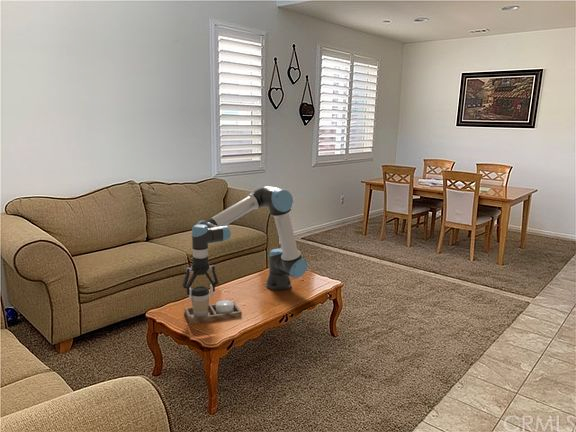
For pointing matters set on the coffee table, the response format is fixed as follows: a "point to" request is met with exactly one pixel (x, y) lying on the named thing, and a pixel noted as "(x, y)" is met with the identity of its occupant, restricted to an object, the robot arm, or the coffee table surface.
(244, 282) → the coffee table surface
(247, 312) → the coffee table surface
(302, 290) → the coffee table surface
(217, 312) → the white ceramic dome
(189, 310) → the box
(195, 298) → the coffee cup
